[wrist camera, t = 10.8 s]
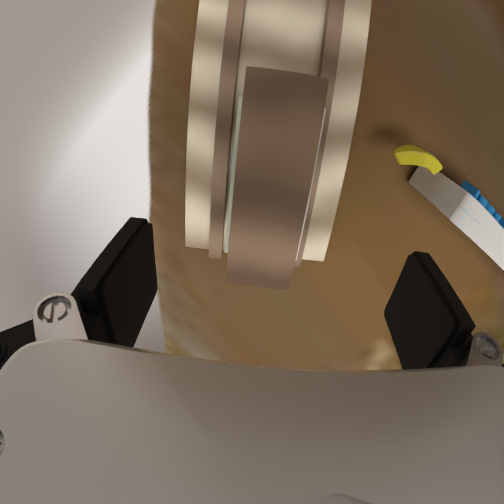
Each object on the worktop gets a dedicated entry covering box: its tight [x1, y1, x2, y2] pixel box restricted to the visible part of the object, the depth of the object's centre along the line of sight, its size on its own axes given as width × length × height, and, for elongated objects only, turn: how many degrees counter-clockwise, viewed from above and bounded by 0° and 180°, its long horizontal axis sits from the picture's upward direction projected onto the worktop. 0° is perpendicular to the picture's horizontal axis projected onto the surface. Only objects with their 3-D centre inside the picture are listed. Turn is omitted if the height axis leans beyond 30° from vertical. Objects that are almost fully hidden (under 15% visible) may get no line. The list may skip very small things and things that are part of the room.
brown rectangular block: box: [225, 66, 329, 290], centre depth 21 cm, size 14×5×9 cm, turn 174°
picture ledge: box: [185, 0, 372, 267], centre depth 23 cm, size 26×14×3 cm, turn 174°
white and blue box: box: [393, 145, 504, 270], centre depth 24 cm, size 32×4×10 cm, turn 63°
